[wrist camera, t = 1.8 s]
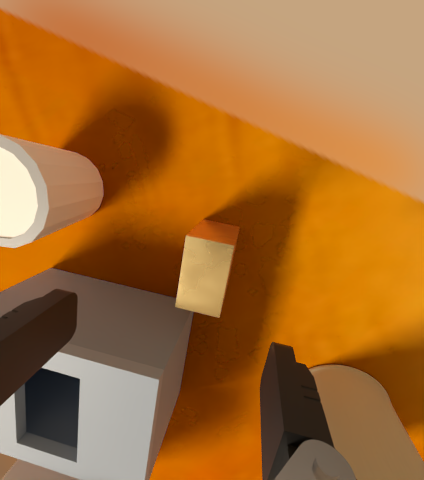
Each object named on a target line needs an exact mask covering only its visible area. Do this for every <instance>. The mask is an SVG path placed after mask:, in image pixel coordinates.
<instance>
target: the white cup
mask: <svg viewBox="0 0 424 480" xmlns="http://www.w3.org/2000/svg"><path fill="white" fill-rule="evenodd" d="M103 196H104V194H103V181H102V179H101V176H100V174H99V171H98V169H97V168H96V167H95V166H94V165H93V163H92V162H91V161H90V160H89V159H88V158H86V157H84V156H82V155H80V154H78V153H76V152H72V151H68V150H64V149H59V148H55V147H51V146H47V145H43V144H39V143H34V142H30V141H26V140H22V139H18V138H13V137H9V136H5V135H1V134H0V246H2V247H11V248H16V247H19V246H22V245H25V244H28V243H30V242H33V241H35V240H37V239H40V238H42V237H44V236H46V235H49V234H51V233H53V232H55V231H58V230H60V229H62V228H64V227H67V226H69V225H71V224H73V223H76V222H78V221H80V220H82V219H85V218H87V217H89V216H91V215H93V213H94V212H95V211H96V210H97V209H98V208H99V207H100V204H101V201H102V199H103Z"/></svg>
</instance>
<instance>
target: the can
mask: <svg viewBox="0 0 424 480" xmlns="http://www.w3.org/2000/svg"><path fill="white" fill-rule="evenodd" d="M309 371H310V372H311V373H312V375H313V376H314V379H315V382H316V386H317V389H318V390H317V392H318V393H319V396H320V399H321V403H322V406H323V410H324V413H325V417H326V420H327V423H328V427H329V430H330V434H331V437H332V441H333V444H334V447H335V449H336V450H337V451H338V452H339V453H340V454H341V455H342V456H343V457H344V458H345V459H346V461H347V462H348V463H349V465H350V466H351V468H352V470H353V472H354V474H355V477H356V479H357V480H424V462H423V460H422V458H421V457H420V455H419V453H418V451H417V449H416V448H415V446H414V444H413V442H412V441H411V439H410V437H409V435H408V433H407V432H406V430H405V428H404V426H403V425H402V423H401V421H400V419H399V417H398V416H397V414H396V412H395V410H394V408H393V406H392V404H391V400H390V398H389V396H388V394H387V392H386V390H385V389H384V388H383V386H382V385H381V384H380V383H379V382H378V381H377V380H376V379H374V378H373V377H372V376H370V375H369V374H367V373H365V372H363V371H361V370H359V369H356V368H353V367H349V366H344V365H321V366H317V367H313V368H310V369H309Z"/></svg>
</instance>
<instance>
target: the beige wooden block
mask: <svg viewBox="0 0 424 480" xmlns="http://www.w3.org/2000/svg"><path fill="white" fill-rule="evenodd" d="M239 230H240V227H239V226H234V225H230V224H225V223H220V222H215V221H210V220H205V219H203V220H202V221H201V222H200V223H199V224H198V225H197V226H195V227H194V228H193V229H192V230H191V231H190V232H189V233H188V234H187V235H186V238H185V245H184V251H183V258H182V265H181V271H180V278H179V285H178V292H177V298H176V305H175V307H177V308H181V309H185V310H189V311H193V312H197V313H201V314H205V315H209V316H214V317H218V318H219V317H220V314H221V310H222V306H223V302H224V298H225V294H226V290H227V286H228V282H229V278H230V273H231V268H232V263H233V258H234V254H235V249H236V244H237V239H238V234H239Z"/></svg>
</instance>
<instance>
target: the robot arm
mask: <svg viewBox="0 0 424 480" xmlns="http://www.w3.org/2000/svg"><path fill="white" fill-rule="evenodd" d="M77 305H78V296H77V294H76V293H74V292H70V291H66V290H62V289H54V290H53V291H51V292H49V293H48V294H46V295H44V296H43V297H39V298H36V299H33V300H30V301H27V302H24V303H23V304H21V305H19V306H17V307H16V308H14V309H12V311H9V312H7V313H6V314H4V315H2V317H1V318H0V406H1V405H2V404H3V403H4V402H5V401H6V400H7V399H9V398H10V397H11V396H12V395H13V394H14V393H15V392H16V391H17V390H18V389H19V388H20V387H21V386H22V385H23V384H24V383H26V382H27V381H28V380H29V379H30V378H31V377H32V376H33V375H34V374H35V373H36V372H37V371H38V370H39V369H40V368H41V367H42V366H44V365H45V364H46V363H47V362H48V361H49V360H50V359H51V358H52V357H53V356H54V355H55V354H56V353H57V352H58V351H59V350H60V349H62V348H63V347H64V346H65V345H66V344H67V343H68V342H69V341H70V340H71V338H72V337H73V335H74V333H75V331H76V327H77ZM317 390H318V389H317V386H316V382H315V379H314V376H313V375H312V373H311V372H310V371H309V369H308V368H307V367H306V365H305V364H301V363H297V362H296V360H295V355H294V351H293V348H292V347H291V346H287V345H283V344H279V343H275V342H272V343H271V345H270V349H269V352H268V356H267V359H266V363H265V366H264V370H263V373H262V377H261V384H260V411H261V444H262V477H263V480H357V479H356V477H355V474H354V472H353V470H352V468H351V466H350V465H349V463H348V462H347V461H346V459H345V458H344V457H343V456H342V455H341V454H340V453H339V452H338V451H337V450H336V449H335V447H334V444H333V441H332V437H331V434H330V430H329V427H328V423H327V420H326V417H325V413H324V410H323V406H322V403H321V399H320V396H319V393H318V392H317Z"/></svg>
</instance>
